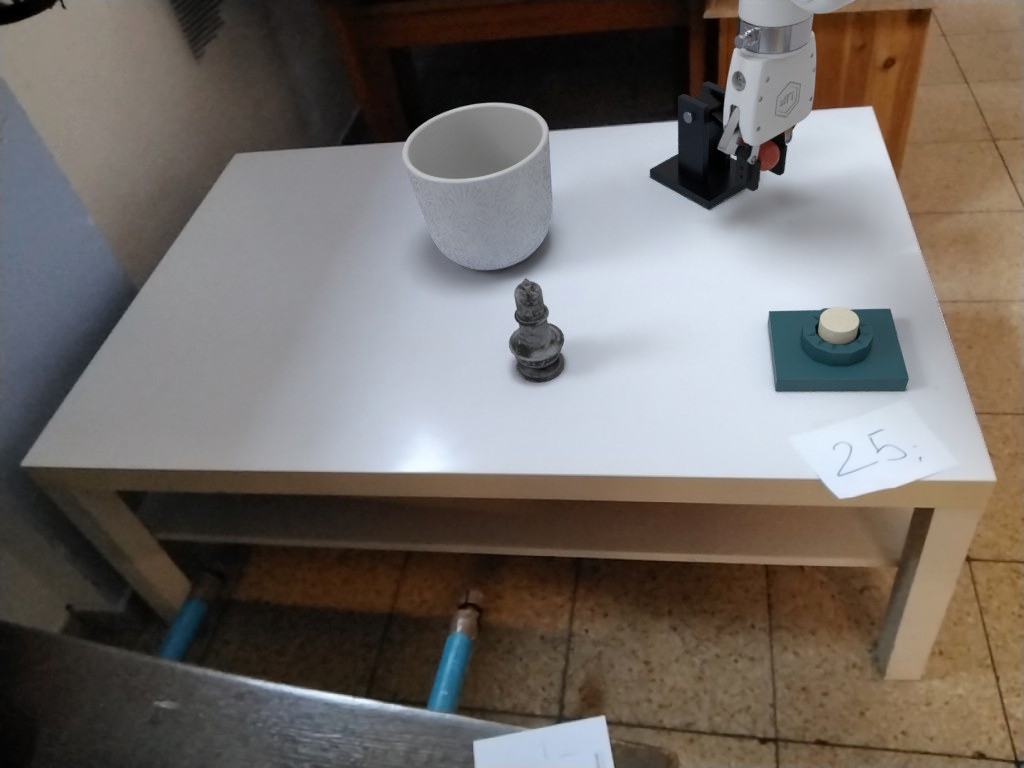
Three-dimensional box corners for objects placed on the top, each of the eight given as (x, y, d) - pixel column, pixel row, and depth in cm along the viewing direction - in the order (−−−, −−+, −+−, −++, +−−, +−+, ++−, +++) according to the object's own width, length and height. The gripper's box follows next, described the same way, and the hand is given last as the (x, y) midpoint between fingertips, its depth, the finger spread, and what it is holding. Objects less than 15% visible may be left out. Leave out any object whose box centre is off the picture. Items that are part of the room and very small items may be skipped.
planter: (427, 221, 111) (400, 117, 100) (551, 197, 110) (537, 90, 100) (433, 301, 99) (403, 194, 88) (572, 275, 99) (559, 163, 88)
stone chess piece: (569, 344, 91) (557, 257, 82) (566, 383, 87) (553, 296, 78) (516, 346, 92) (499, 261, 83) (510, 385, 88) (492, 299, 79)
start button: (853, 319, 82) (856, 306, 81) (859, 344, 80) (862, 331, 79) (815, 320, 83) (817, 307, 82) (820, 345, 81) (822, 332, 80)
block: (887, 320, 86) (893, 294, 84) (905, 391, 79) (913, 365, 77) (767, 322, 88) (770, 297, 86) (775, 391, 82) (778, 366, 79)
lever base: (760, 179, 106) (766, 94, 98) (708, 210, 103) (711, 124, 95) (699, 149, 113) (700, 66, 105) (649, 177, 110) (647, 94, 102)
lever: (781, 169, 98) (790, 146, 95) (759, 182, 97) (768, 159, 94) (705, 107, 104) (711, 84, 101) (684, 119, 103) (689, 95, 100)
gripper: (743, 70, 81) (732, 221, 95) (857, 9, 87) (831, 161, 100) (690, 47, 86) (686, 195, 99) (801, -9, 91) (783, 138, 105)
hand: (759, 176), depth 100 cm, fingers closed on lever, 3 cm apart
